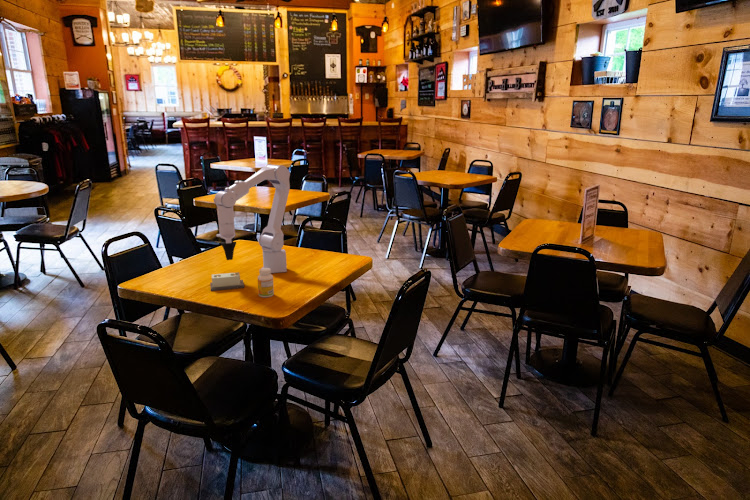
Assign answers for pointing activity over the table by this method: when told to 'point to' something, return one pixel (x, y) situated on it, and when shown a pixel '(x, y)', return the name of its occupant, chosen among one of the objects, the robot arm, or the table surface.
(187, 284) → the table surface
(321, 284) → the table surface
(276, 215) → the robot arm
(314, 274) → the table surface
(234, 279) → the hollow breeze brick
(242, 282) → the base
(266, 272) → the supplement bottle
